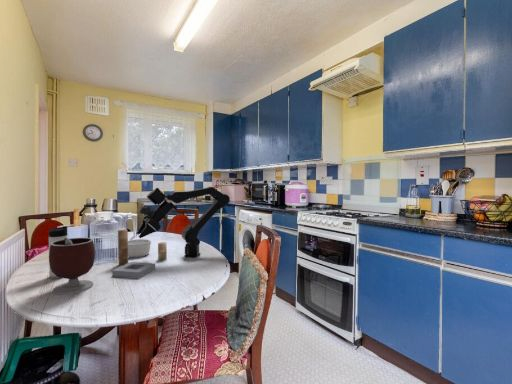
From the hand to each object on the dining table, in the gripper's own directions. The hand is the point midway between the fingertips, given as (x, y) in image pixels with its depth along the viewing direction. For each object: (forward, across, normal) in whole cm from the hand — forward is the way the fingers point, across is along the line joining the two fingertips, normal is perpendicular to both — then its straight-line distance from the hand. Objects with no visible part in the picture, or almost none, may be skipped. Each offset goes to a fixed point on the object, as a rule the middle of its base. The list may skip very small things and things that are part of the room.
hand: (138, 235), depth 131 cm
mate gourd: (+27, +23, -8) cm, 36 cm away
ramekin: (+8, -16, +10) cm, 20 cm away
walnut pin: (+14, 0, +5) cm, 14 cm away
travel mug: (+31, +5, -12) cm, 33 cm away
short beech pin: (+1, -1, +17) cm, 17 cm away
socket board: (+11, +15, +7) cm, 20 cm away
